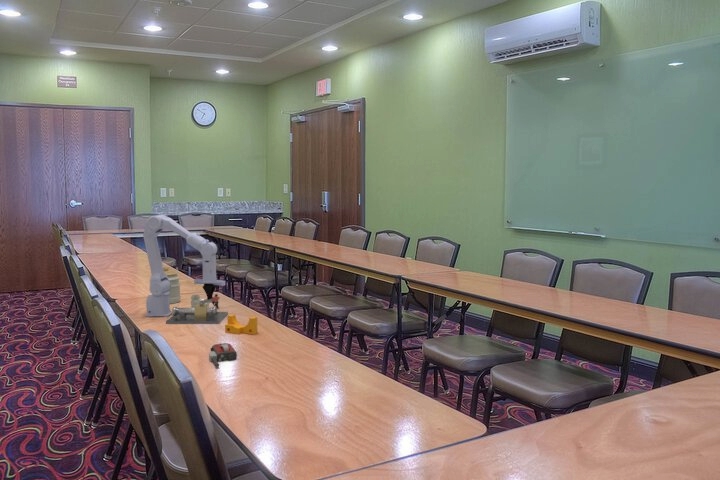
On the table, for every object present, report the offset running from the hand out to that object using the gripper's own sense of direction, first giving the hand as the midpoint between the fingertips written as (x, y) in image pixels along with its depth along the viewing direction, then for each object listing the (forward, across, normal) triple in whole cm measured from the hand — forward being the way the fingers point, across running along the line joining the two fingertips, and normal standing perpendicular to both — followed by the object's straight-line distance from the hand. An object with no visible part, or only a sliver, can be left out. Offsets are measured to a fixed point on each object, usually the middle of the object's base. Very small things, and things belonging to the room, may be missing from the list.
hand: (209, 301), depth 260 cm
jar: (+7, -36, +20) cm, 42 cm away
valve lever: (0, +1, -2) cm, 3 cm away
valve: (+7, -10, +12) cm, 17 cm away
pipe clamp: (+7, +27, -22) cm, 35 cm away
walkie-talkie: (+7, +38, -54) cm, 66 cm away
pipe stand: (+7, -2, -7) cm, 10 cm away
